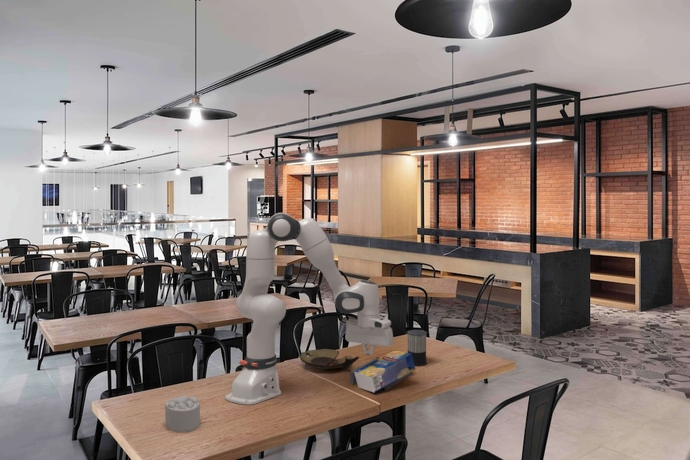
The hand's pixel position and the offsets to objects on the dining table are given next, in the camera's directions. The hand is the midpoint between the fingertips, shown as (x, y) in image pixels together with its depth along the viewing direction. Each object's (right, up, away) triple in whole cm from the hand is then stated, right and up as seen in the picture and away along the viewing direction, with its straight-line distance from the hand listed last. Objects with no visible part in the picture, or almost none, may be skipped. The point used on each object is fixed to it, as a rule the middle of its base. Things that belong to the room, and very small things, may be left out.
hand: (368, 354), depth 219 cm
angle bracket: (+6, -13, +11) cm, 18 cm away
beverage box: (-2, -10, -5) cm, 11 cm away
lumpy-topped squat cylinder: (-64, -16, -37) cm, 75 cm away
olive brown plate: (-17, -13, +27) cm, 34 cm away
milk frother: (+20, -12, +34) cm, 41 cm away
